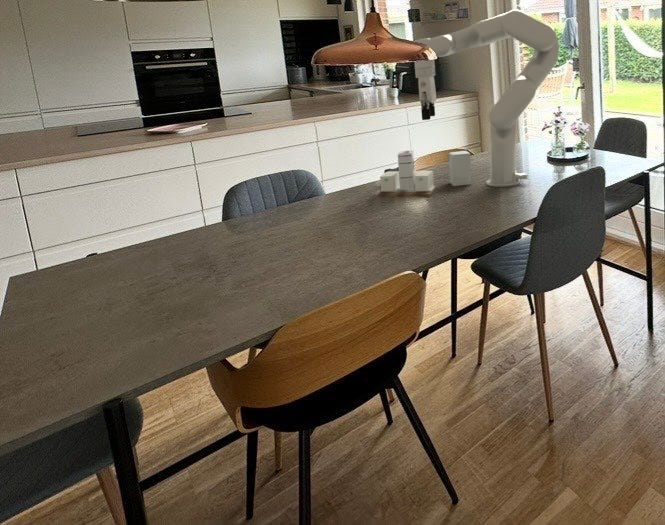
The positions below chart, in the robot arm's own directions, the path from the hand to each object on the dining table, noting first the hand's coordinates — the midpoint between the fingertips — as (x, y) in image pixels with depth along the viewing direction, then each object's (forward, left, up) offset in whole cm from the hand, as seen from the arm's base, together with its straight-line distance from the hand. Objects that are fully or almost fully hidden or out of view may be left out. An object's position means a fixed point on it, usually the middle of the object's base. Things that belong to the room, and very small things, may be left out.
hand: (428, 117), depth 224 cm
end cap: (+16, -5, -28) cm, 32 cm away
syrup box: (+7, +12, -26) cm, 29 cm away
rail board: (+7, +12, -27) cm, 31 cm away
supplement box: (-11, -3, -28) cm, 30 cm away
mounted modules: (+7, +12, -25) cm, 29 cm away
